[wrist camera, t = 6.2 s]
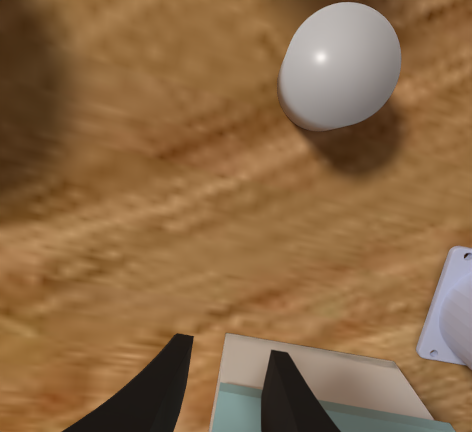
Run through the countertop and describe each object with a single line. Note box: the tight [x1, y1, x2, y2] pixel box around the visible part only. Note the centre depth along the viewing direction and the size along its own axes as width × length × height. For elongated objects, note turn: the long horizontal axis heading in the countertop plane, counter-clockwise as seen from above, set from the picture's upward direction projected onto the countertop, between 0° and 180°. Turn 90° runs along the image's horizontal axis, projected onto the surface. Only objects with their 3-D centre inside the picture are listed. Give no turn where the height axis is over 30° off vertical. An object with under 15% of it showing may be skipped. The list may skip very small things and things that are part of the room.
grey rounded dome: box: [277, 2, 401, 131], centre depth 16 cm, size 5×5×4 cm
